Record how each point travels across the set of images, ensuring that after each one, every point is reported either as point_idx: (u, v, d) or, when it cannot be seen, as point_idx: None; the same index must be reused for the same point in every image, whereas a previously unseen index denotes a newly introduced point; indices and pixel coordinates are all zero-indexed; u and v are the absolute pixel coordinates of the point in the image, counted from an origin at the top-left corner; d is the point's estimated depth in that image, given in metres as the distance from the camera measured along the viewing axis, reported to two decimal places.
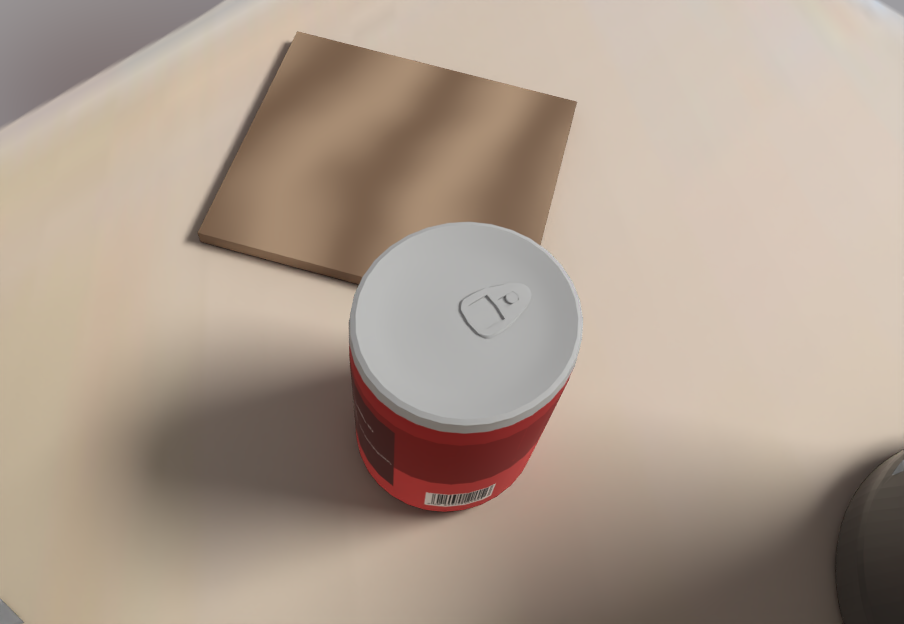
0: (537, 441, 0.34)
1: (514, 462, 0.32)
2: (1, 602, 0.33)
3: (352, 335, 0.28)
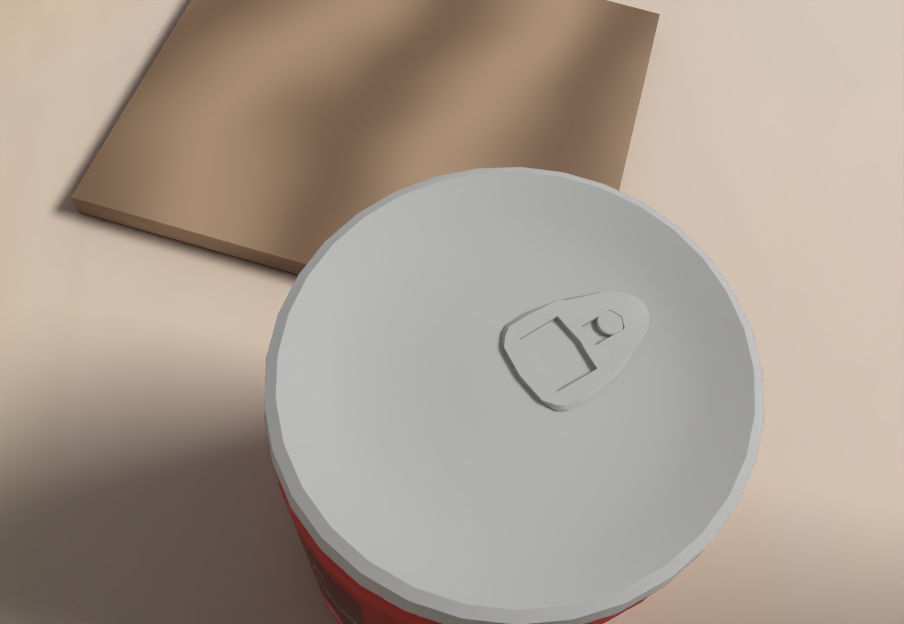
0: None
1: None
2: None
3: (268, 404, 0.13)
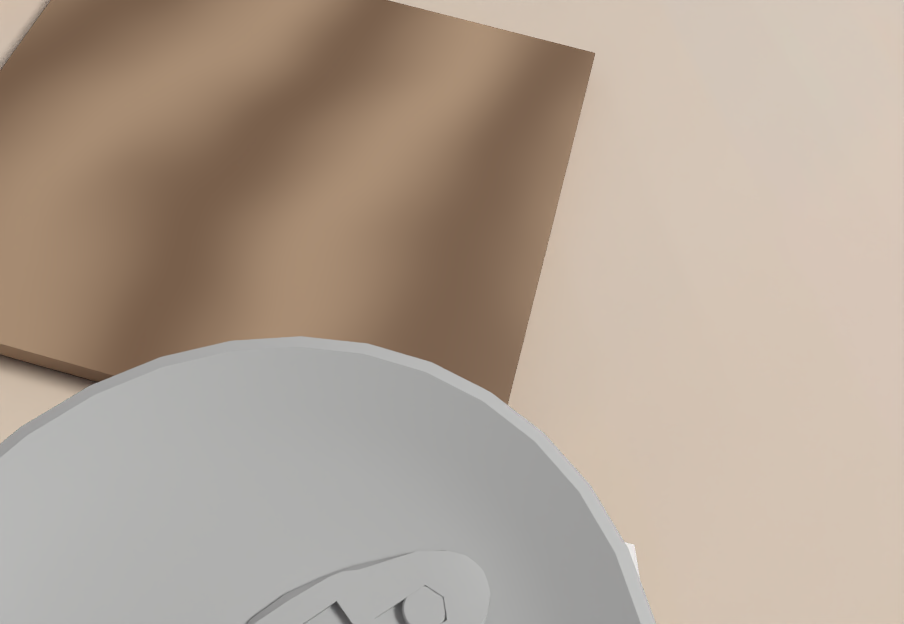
0: None
1: None
2: None
3: None
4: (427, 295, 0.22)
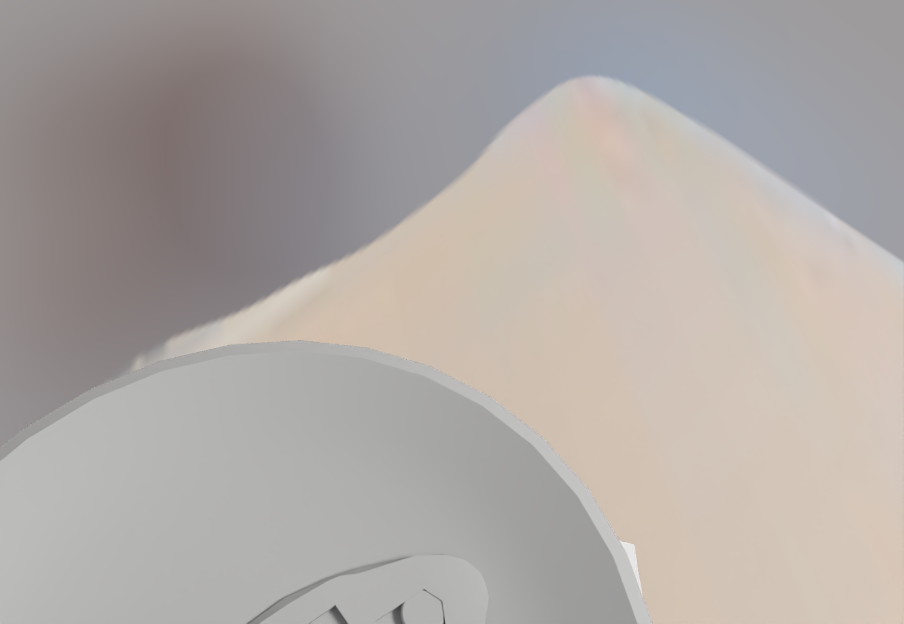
0: None
1: None
2: None
3: None
4: None
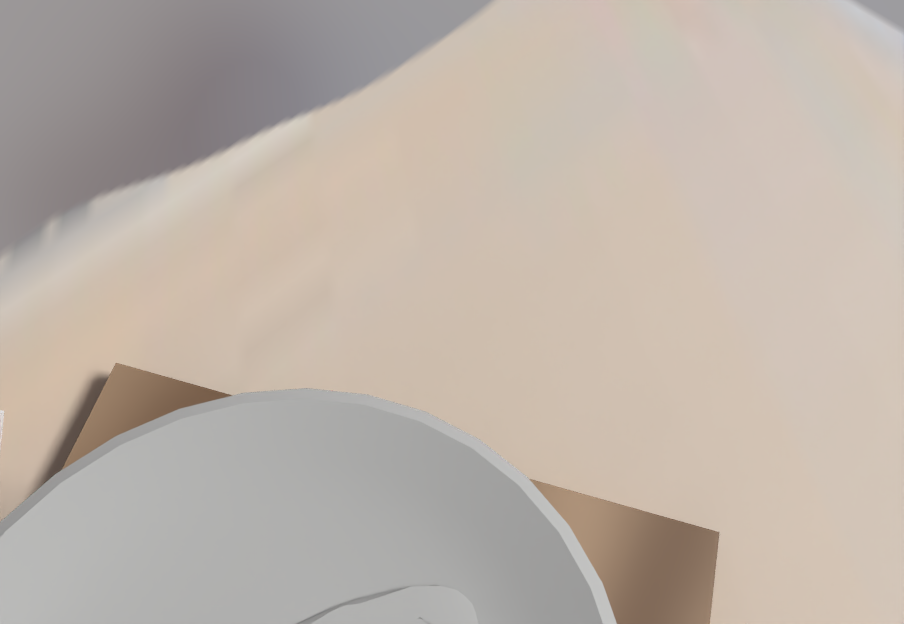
0: None
1: None
2: None
3: None
4: None
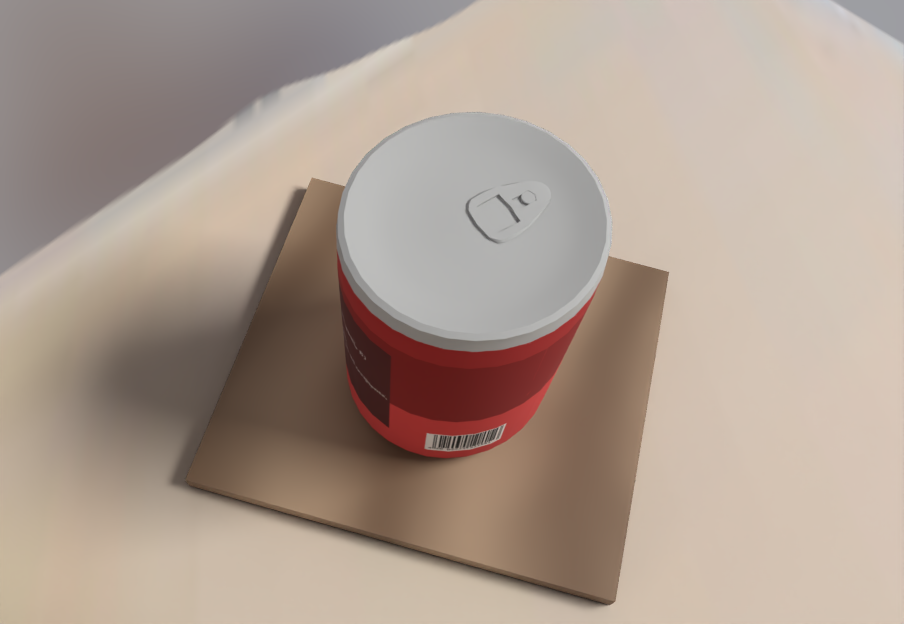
0: (553, 375, 0.29)
1: (528, 397, 0.28)
2: None
3: (340, 237, 0.23)
4: (566, 468, 0.32)
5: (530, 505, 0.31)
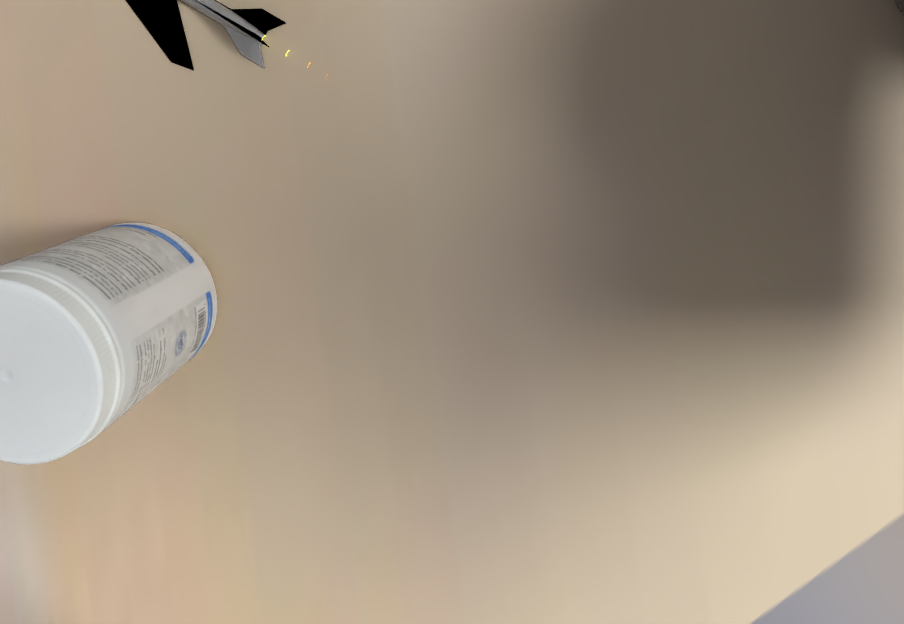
0: None
1: None
2: None
3: None
4: None
5: None
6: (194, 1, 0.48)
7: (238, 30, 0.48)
